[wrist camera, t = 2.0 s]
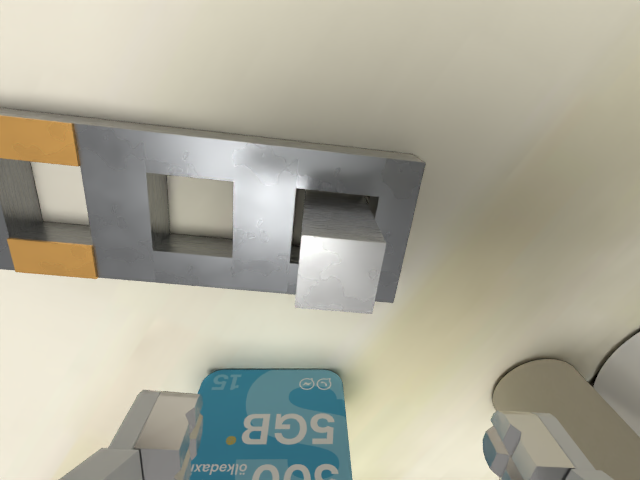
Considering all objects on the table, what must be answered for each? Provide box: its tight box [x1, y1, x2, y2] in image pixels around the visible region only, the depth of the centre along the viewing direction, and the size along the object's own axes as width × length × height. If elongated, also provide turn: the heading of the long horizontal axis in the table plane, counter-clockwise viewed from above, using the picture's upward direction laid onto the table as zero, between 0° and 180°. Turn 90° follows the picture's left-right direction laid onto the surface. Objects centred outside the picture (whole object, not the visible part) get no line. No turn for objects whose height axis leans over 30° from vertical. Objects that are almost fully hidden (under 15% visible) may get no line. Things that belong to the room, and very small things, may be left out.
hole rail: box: [0, 108, 426, 303], centre depth 23 cm, size 28×10×3 cm, turn 84°
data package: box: [189, 370, 352, 480], centre depth 26 cm, size 12×4×12 cm, turn 89°
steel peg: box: [295, 189, 386, 314], centre depth 21 cm, size 4×4×9 cm
